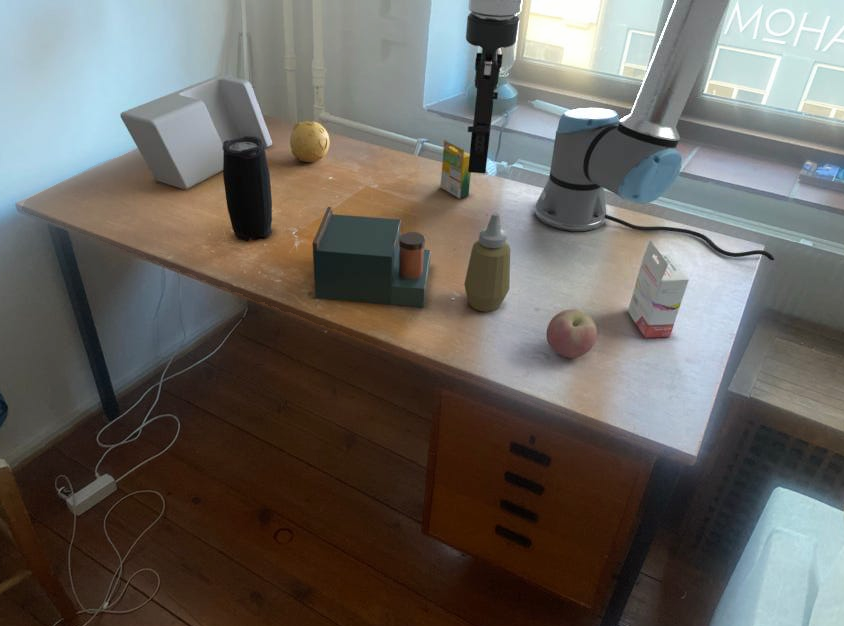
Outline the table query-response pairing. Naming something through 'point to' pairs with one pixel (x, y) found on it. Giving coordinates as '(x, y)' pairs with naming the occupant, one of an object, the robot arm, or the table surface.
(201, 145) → the bracket
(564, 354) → the apple
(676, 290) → the ink cartridge box
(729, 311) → the table surface
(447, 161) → the crayon box
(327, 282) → the dark green stepped block
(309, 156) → the stress ball
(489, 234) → the squeeze bottle
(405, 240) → the spice jar
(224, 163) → the portable speaker
